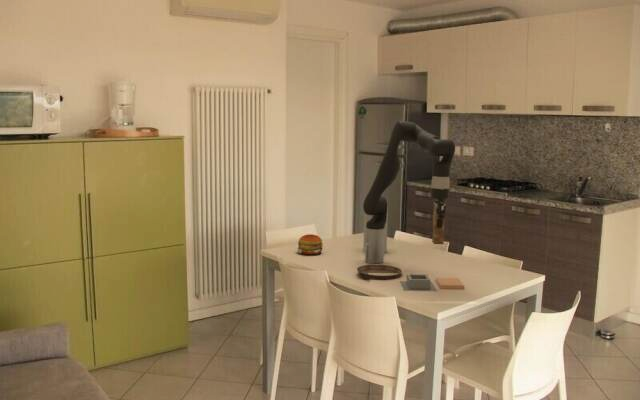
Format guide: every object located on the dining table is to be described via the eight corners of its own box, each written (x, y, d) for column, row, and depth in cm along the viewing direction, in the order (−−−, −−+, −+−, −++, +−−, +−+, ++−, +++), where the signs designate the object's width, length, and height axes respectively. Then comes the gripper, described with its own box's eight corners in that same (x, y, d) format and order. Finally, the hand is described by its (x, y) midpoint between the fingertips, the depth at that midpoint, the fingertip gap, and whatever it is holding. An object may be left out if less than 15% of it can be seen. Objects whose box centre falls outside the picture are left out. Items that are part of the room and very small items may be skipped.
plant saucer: (373, 268, 292) (373, 261, 292) (410, 276, 279) (410, 269, 279) (347, 276, 276) (347, 269, 276) (385, 285, 263) (385, 278, 263)
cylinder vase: (391, 252, 325) (392, 206, 321) (373, 255, 318) (374, 208, 314) (376, 248, 335) (377, 203, 331) (358, 250, 328) (359, 205, 324)
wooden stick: (434, 244, 256) (435, 207, 254) (432, 242, 260) (434, 205, 258) (443, 244, 256) (445, 207, 254) (441, 242, 260) (443, 205, 258)
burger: (327, 254, 319) (328, 235, 317) (306, 257, 311) (306, 238, 310) (313, 249, 330) (313, 231, 328) (292, 252, 322) (292, 233, 321)
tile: (435, 284, 267) (440, 292, 255) (435, 277, 267) (440, 285, 255) (457, 284, 267) (463, 292, 255) (458, 277, 267) (464, 285, 255)
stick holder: (403, 292, 252) (404, 281, 251) (399, 283, 266) (400, 272, 265) (437, 293, 252) (437, 281, 251) (431, 283, 266) (431, 272, 265)
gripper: (428, 184, 261) (426, 223, 264) (434, 188, 247) (432, 230, 250) (445, 184, 261) (443, 223, 264) (453, 189, 247) (450, 230, 250)
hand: (438, 226), depth 257 cm, fingers closed on wooden stick, 4 cm apart
